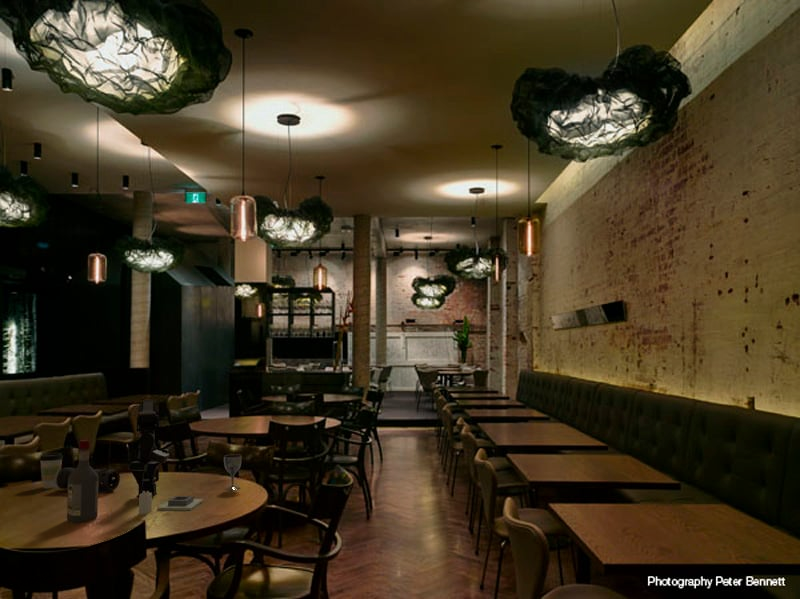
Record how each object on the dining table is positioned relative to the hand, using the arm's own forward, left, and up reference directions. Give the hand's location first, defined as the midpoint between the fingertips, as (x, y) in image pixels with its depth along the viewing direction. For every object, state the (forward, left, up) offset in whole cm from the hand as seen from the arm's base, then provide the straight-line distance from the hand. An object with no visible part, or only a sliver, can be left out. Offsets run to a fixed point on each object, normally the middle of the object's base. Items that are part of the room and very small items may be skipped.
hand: (145, 483), depth 246 cm
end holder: (+10, +11, -11) cm, 19 cm away
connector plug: (0, 0, -11) cm, 11 cm away
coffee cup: (-66, +43, -12) cm, 80 cm away
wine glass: (+22, +41, -12) cm, 48 cm away
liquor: (-20, -10, -12) cm, 25 cm away
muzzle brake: (-44, +35, -12) cm, 57 cm away
